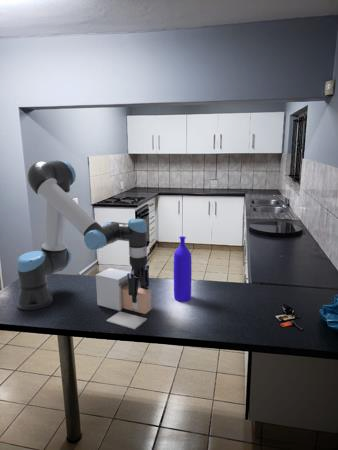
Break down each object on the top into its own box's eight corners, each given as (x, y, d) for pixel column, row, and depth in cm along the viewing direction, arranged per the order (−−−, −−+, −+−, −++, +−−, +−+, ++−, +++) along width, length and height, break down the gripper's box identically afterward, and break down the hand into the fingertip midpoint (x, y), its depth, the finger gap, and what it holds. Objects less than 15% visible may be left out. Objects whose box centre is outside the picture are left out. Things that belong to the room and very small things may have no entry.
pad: (106, 321, 139) (106, 320, 139) (119, 312, 147) (119, 311, 147) (134, 329, 133) (134, 328, 132) (146, 319, 140) (146, 318, 140)
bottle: (176, 303, 155) (176, 240, 148) (171, 296, 163) (171, 235, 156) (193, 301, 157) (194, 238, 150) (188, 293, 165) (188, 234, 158)
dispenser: (97, 304, 154) (95, 274, 151) (111, 296, 162) (109, 267, 159) (120, 311, 148) (119, 279, 145) (133, 302, 156) (132, 272, 153)
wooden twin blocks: (115, 306, 152) (114, 287, 150) (121, 301, 156) (121, 283, 155) (145, 314, 145) (144, 294, 143) (151, 309, 149) (151, 290, 147)
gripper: (133, 263, 134) (134, 316, 139) (156, 251, 149) (157, 299, 155) (118, 260, 137) (120, 312, 143) (142, 248, 153) (143, 296, 158)
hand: (139, 305), depth 149 cm, fingers closed on wooden twin blocks, 5 cm apart
